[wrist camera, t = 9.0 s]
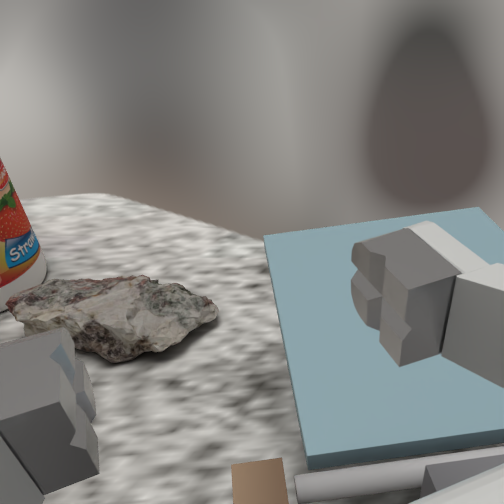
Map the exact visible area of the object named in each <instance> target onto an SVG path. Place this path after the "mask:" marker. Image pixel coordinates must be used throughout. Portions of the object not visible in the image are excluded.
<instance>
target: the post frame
mask: <svg viewBox="0 0 504 504" xmlns="http://www.w3.org/2000/svg"><path fill="white" fill-rule="evenodd" d="M231 469H232V487H233V504H289V502H288V495H287V489H286V482H285V475H284V469H283V462H282V458H276V459H269V460H262V461H254V462H247V463H240V464H233V465H231Z"/></svg>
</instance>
